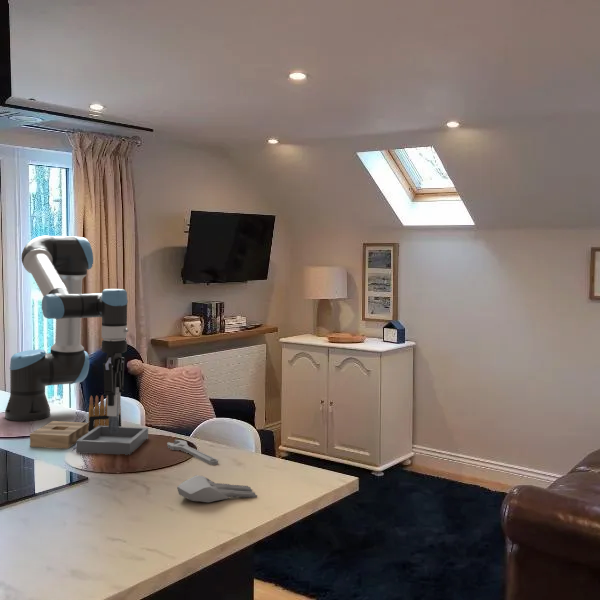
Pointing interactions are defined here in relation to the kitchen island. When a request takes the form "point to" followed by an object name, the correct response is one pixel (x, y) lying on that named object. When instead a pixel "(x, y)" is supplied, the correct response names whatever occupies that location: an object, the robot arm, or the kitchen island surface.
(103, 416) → the ammunition clip
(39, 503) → the kitchen island surface
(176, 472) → the kitchen island surface
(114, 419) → the pin
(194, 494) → the turret
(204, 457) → the adjustable wrench
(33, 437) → the tan board with hole
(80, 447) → the tray
